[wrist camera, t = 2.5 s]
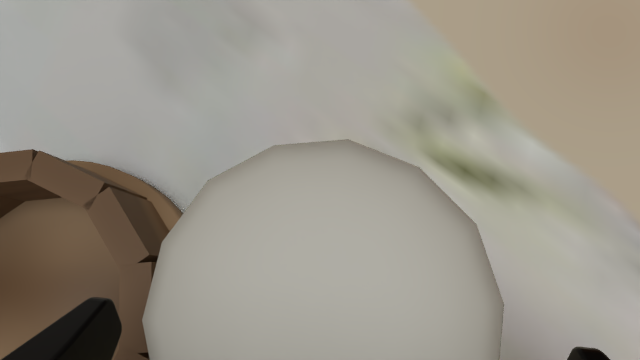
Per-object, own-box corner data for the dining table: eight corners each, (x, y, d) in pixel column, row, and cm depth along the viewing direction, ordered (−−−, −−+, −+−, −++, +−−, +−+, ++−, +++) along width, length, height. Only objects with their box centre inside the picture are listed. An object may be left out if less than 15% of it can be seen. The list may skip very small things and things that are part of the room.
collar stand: (217, 463, 16) (170, 526, 12) (-84, 482, 17) (-223, 546, 13) (207, 153, 19) (165, 120, 15) (-56, 181, 20) (-166, 157, 16)
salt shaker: (246, 326, 17) (-63, 464, 5) (305, 189, 18) (182, -9, 6) (391, 394, 16) (499, 796, 4) (446, 246, 17) (683, 164, 5)
